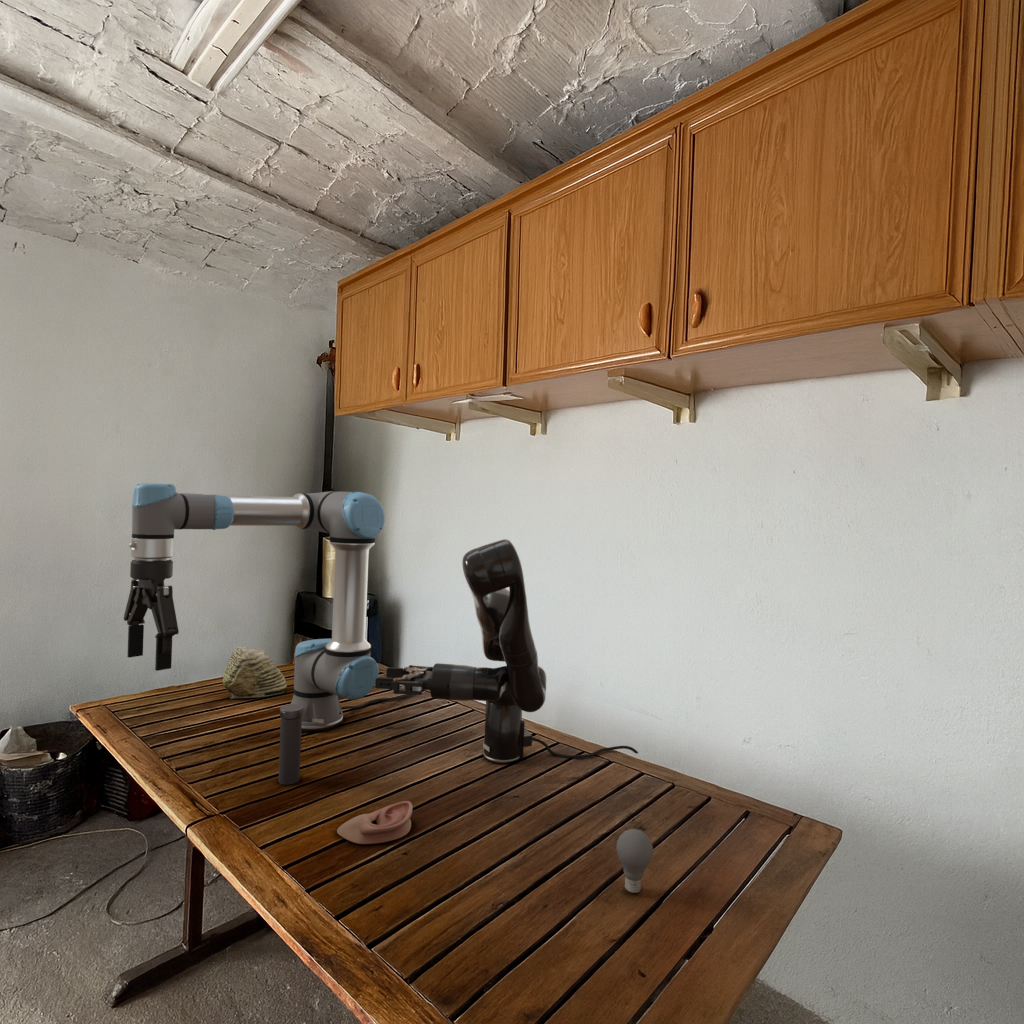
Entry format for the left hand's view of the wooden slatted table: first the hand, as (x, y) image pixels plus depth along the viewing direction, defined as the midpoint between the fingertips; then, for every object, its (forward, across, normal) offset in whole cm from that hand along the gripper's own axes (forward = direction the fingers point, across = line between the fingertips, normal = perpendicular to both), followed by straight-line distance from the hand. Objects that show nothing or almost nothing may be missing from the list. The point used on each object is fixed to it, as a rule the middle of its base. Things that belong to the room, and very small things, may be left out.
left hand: (148, 662), depth 129 cm
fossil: (+28, -47, +50) cm, 74 cm away
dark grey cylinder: (+28, +13, +25) cm, 40 cm away
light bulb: (+28, +90, +41) cm, 103 cm away
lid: (+12, +13, +25) cm, 31 cm away
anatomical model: (+28, +44, +24) cm, 57 cm away
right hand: (+4, +30, +36) cm, 47 cm away
